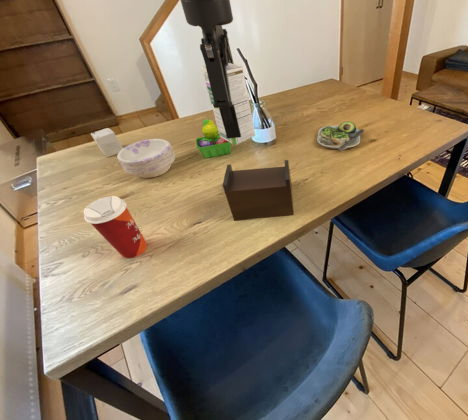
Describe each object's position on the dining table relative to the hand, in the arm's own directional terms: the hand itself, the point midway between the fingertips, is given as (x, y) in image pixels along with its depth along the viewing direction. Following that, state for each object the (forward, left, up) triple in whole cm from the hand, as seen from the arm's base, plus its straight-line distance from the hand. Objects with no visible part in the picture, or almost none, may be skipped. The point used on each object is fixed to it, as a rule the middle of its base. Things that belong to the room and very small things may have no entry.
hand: (236, 127), depth 59 cm
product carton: (+41, +54, -25) cm, 72 cm away
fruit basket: (+35, +16, -25) cm, 46 cm away
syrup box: (0, 0, -2) cm, 2 cm away
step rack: (+5, -2, -25) cm, 25 cm away
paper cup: (-9, +29, -25) cm, 39 cm away
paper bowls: (+26, +35, -25) cm, 50 cm away
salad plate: (+38, -30, -25) cm, 54 cm away
